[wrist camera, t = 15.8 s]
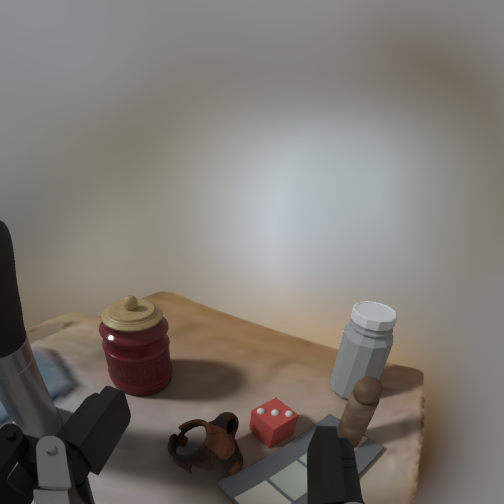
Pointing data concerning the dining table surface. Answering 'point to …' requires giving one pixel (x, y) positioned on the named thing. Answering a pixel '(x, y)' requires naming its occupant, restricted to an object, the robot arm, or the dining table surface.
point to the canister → (136, 346)
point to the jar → (363, 346)
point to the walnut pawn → (359, 409)
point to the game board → (287, 471)
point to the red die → (273, 422)
